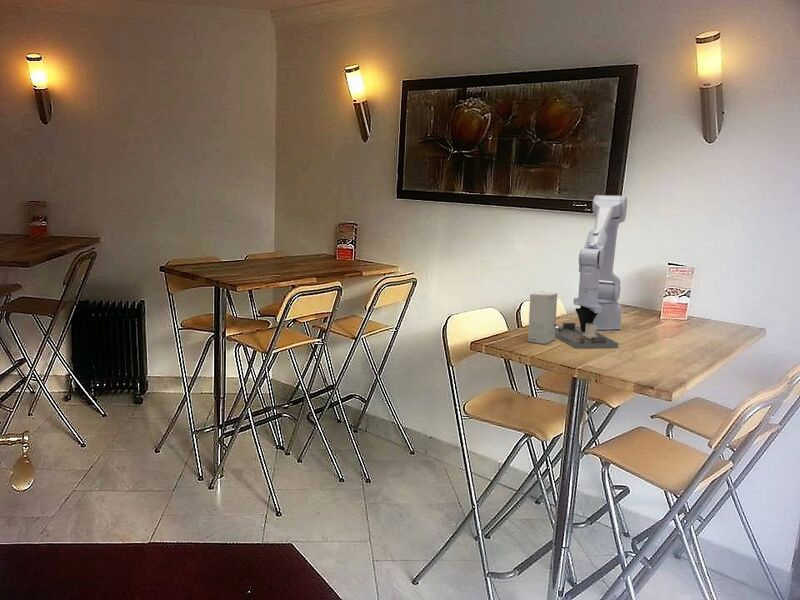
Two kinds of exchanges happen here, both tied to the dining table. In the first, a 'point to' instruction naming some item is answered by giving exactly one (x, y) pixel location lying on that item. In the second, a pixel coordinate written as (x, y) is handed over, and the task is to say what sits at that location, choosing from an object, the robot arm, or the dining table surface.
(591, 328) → the block
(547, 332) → the skincare box
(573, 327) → the console
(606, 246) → the robot arm
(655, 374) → the dining table surface
